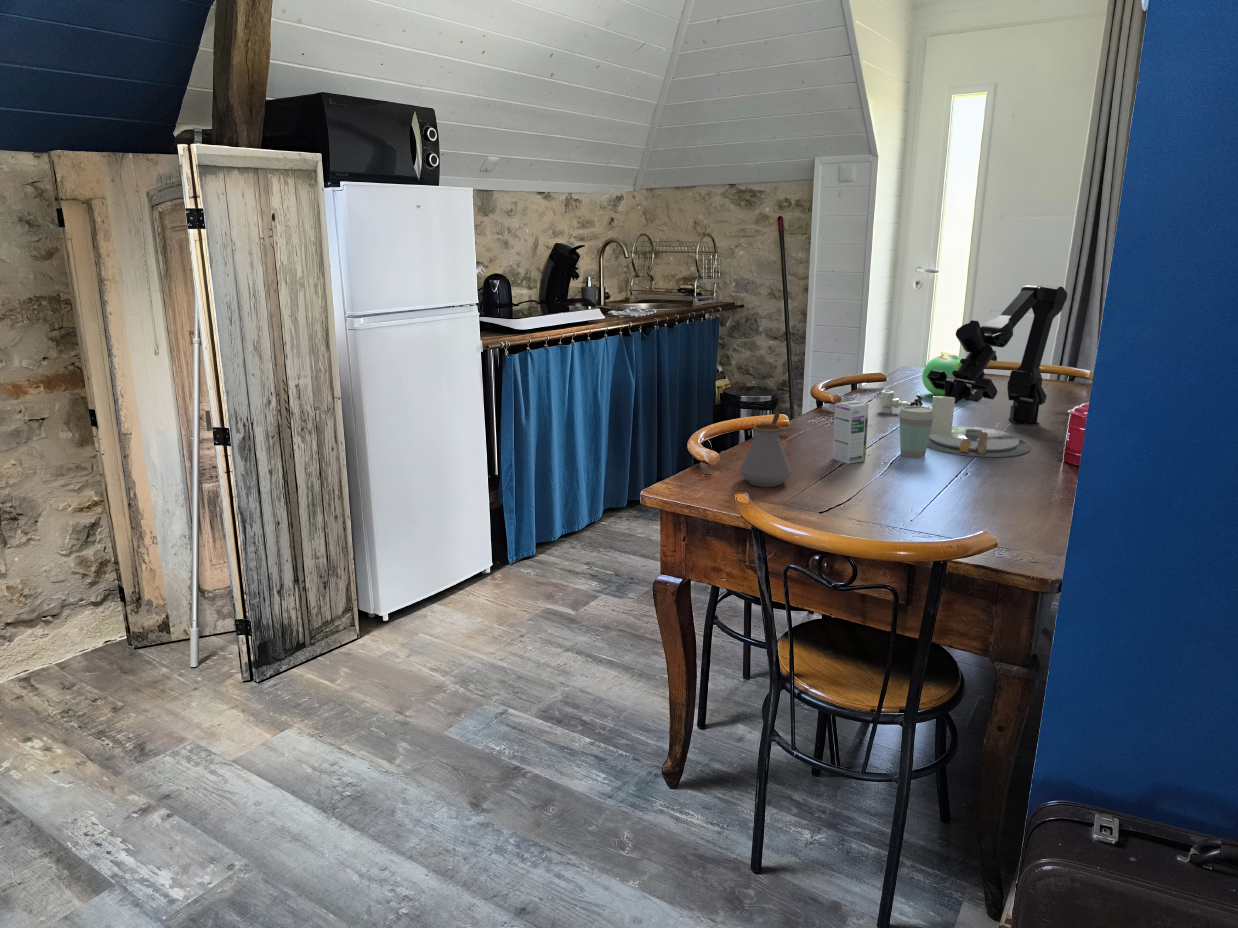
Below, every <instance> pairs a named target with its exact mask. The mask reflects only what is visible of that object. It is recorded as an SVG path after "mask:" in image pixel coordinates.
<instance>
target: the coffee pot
mask: <svg viewBox="0 0 1238 928" xmlns="http://www.w3.org/2000/svg"><path fill="white" fill-rule="evenodd" d="M782 407H783V408H784V410H782ZM785 411H786V407H785V406H783V405H782V404H779V405H777V406H776V407H775V413H774V415H773V417H772V418H773V419H772V422H771V423H760V424H755V425H753V427H752V429H753V430H754V432H755V433H754V434H755V436H754V438H753V440H752V443H751V445H750V447H749V449H748V451H747V453H746V455H745V457H744V459H743V461H742V464H741V465H740V469H739V470H740V474H741V475H742V476H743V477H742V478H744V479H745V480H747V482H748V483H749V484H751V485H754V486H757V487H765V488H768V487H772V488H773V487H777V486H781V485H782V484H783V482H785V481H786V480H787V479H789V478H790V475H791V474H792V468H791V465H790V462H789V460H788V458H787V456H786V452H785V450H784V447H783V444H782V442H781V440H780V435H781V433H782V432H783V431H784V428H783V427H782V426H781V425H778V424H777V423H778V421H779V419H780V414H781V413H784V412H785Z"/></svg>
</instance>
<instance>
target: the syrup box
mask: <svg viewBox="0 0 1238 928" xmlns="http://www.w3.org/2000/svg"><path fill="white" fill-rule="evenodd" d="M834 406H835V407H834V424H833V425H834V427H833V443H832V444H833V446H832V447H833V448H832V459H833V460H834V461H837V462H839V463H840V462H841V463H843V464H846V465H849V464H850V465H851V464H854V463H855V464H856V463H860V462H865V461H866V454H867V438H868V437H867V436H868V425H869V424H868V422H869V409H870V408H869V406H870V405H869V404H868V403H866V402H863V401H858V400H851V401H843V402H836V403H835V404H834Z"/></svg>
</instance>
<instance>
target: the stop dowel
mask: <svg viewBox="0 0 1238 928" xmlns="http://www.w3.org/2000/svg"><path fill="white" fill-rule="evenodd" d="M987 438H988V433H987V432H979V440H978V448H977V455H981V456H984V455H985V454H986V446H987Z"/></svg>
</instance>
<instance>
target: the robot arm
mask: <svg viewBox="0 0 1238 928" xmlns="http://www.w3.org/2000/svg"><path fill="white" fill-rule="evenodd" d="M1067 300H1068V292H1067V291H1066V290H1065V287H1063V286H1056V285H1033V284H1032V285H1031V284H1027V285H1023V286H1022V288H1021V289H1020V292H1019V293H1018V294H1017V296H1015V298H1014V299H1012V301H1011V302H1010V303H1009V305H1007V307H1005V309H1004V310H1003V311H1002V312H1001V313H1000V315H998V316H997V317H994V318H992V319H989V320H988V321H986V322H985V323H984V324H983V325H982V326H981V325H980V322H979V321H978V320H975V319H973V320H972V319H971V320H970V321H969V322H968V323H965V324H962V325H961V326H959V327H958V328H957V329H956V331H955V337H956V338H957V340H958V342H959V343H960V345H961V346H962V349H963V350H964V351H965V353H968V354H967V355H966V357H965V358H963V359H961V360H960V363H961V366H960V367H959V369H958V370H957V371H955V370H954V371H953V372H952V374H953V376H947V375H946V373H945V372H944V371H938V370H931V371H930V372H929V374H928V375H927V378H928V379H929V381H930V382H931V384H932V385H933V387H934V388H936V389H939V390H945V394H944V397H955V404H957V403H960V401H962V400H966V401H967V402H968V401H970V402H975V403H978V402H979V401H980V400H982V399H983V398H984V399H988V400H994V399H995V398H996V397H997V395H998V389H997V387H996V386H995V384H994V382H993V381H992V379H991V378H985V375H986V373H985V369H986V368H987V367H988V365H989V364H990V362H992V361H993V362H997V361H998V356H997V351H996V350H994V349H993V347H996V348H1004V347H1006V346H1007V345H1008V344H1009V342H1010V340H1011V339H1012V337H1013V336H1014V328H1015V327H1016V326H1017V324H1019V322H1020V321H1021V320H1022V319H1023V318H1024V317H1025V315H1026V314H1027V313H1028V312H1029V311H1030V310H1032V313H1033V320H1032V323H1031V325H1030V330H1029V334H1028V337H1027V341H1026V345H1025V349H1024V352H1023V356H1022V358H1021V359H1022V360H1021V363H1020V365H1019V366H1018V367H1016V368H1017V369H1012V370H1011V371H1010V373H1009V374H1010V375H1009V379H1008V381H1007V384H1006V385H1007V387H1006V388H1007V389H1006V390H1007V397H1008V401H1013V402H1012V405H1011V406H1010V411H1009V418H1008V420H1009V421H1010V422H1012V423H1014V424H1015V425H1036V426H1037V425H1040V422H1039V421H1038V419H1039V418H1038V416H1039V409H1040V406H1041V405H1043V404H1045V403H1046V400H1047V394H1046V392H1045V390H1044V388H1043V387H1042V385H1043V377H1042V373H1041V371H1040V367H1041V365H1042V364H1041V363H1042V360H1043V356H1044V353H1045V349H1046V345H1047V341H1048V339H1049V336H1050V335H1049V334H1050V331H1051V327H1052V324H1053V320H1054V319H1055V318H1056V316H1057V315H1059V314H1060V313H1061V312H1062V310H1063V308H1064V306H1065V303H1066V301H1067ZM955 404H954V406H955Z"/></svg>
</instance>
